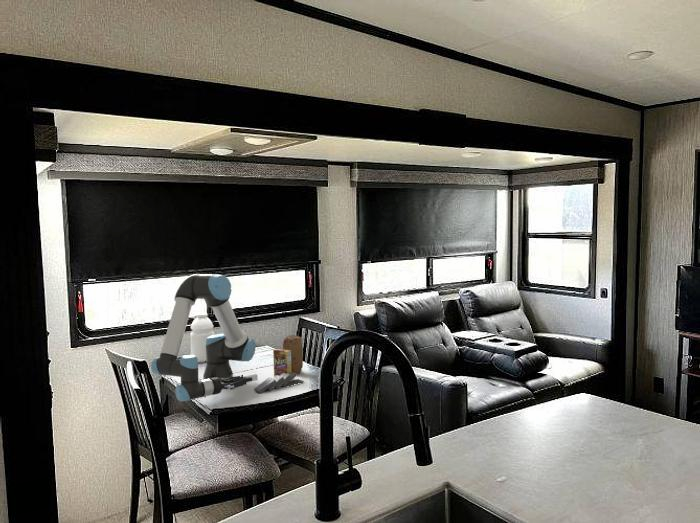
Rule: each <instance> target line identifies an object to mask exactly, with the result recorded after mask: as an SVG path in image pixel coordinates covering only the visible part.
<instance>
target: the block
mask: <svg viewBox="0 0 700 523" xmlns="http://www.w3.org/2000/svg"><path fill="white" fill-rule="evenodd" d="M282 349H285V350H291V372H292V373H296V374H297V375H299V374H300V373H301V372H302V369H303V364H304V360H303V358H304V354H303V352H304V350H303V340H302V337H301V336H298V335H294V334H290V335H288V336H285V337H284V339H283V341H282ZM298 373H299V374H298Z"/></svg>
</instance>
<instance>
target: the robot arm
mask: <svg viewBox="0 0 700 523" xmlns="http://www.w3.org/2000/svg"><path fill="white" fill-rule="evenodd" d="M231 295H232V284H231V282H230V280H229V278H228V277H227V276H226V275H223V274H217V273H216V274H201V273H195V274H194V273H193V274H192V275H189V276H187V277H186V278H185V279H184V280H183V281H182V282H181V283H180V285H179V287H178V288H177V290H176V293H175V295H174V299H173V300H174V302H175V304H174V306H173V309H172V314H171V317H170V321H169V323H168V327H167V329H166V330H167V331H166V334H165V337H164V340H163V344H162V347H161V351H160V354H159V356H158V357H155V358H154V359H153V360H152V362H151V363H150V364H151V365H150V370H151V371H152V373H153V374H154V375H155V374H156V375H160V376H167V377H168V376H169V377H179V378H180V383H179V384H177V385H175V397H176V399H177V401H179V402H187V401H192V400H195V399H196V400H197V399H199V398H207V397H209V396H210V397H211V396H214V395H219V394H220V393H221V392H222V390H227V389H230V390H234V389H236V388H239V387H243V386H246V385H247V383H251V382H256V381H258V377H259V376H258V373H255V374H249V375H245V376H244V374H241V375H237V376H234V373H233V370H232V368H231V364H230V361H234V362H235V361H237V362H243V363H244V362H250V361H251V360H252V359H253V357H254V355H255V352H256V346H257V345H256V344H257V343H256V341H255V339H254V338H252V337H250V338H249V337H248V334H247V333H246V332H245V331H243V330H242V329H241V326H240V323H239V321H238V319H237V317H236V314H235V312H234V309H233V307H232V305H231V303H230V297H231ZM196 300H203V301H205V303H206V305H207V307H209V308H211V309H212V311H213V313H214V315H215V318H216V319H217V322H218V324H219V326H220V328H221V331H222V333H217V334H214V335H212V336H209V337H207V339H206V362H205V363H206V365H205V368H204V371H203V379H204V380H203V379H201V380H199V362H198V358H197V357H196V356H195V355H191V354H187V355H186V354H185V355H182V356H181V357H180V359H178V356H179V352H180V348H181V346H182V345H181V344H182V342H183V338H184V334H185V331H186V329H187V328H186V327H187V325H188V321H189V318H190V313H191V310H192V306H194V305H196Z"/></svg>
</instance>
